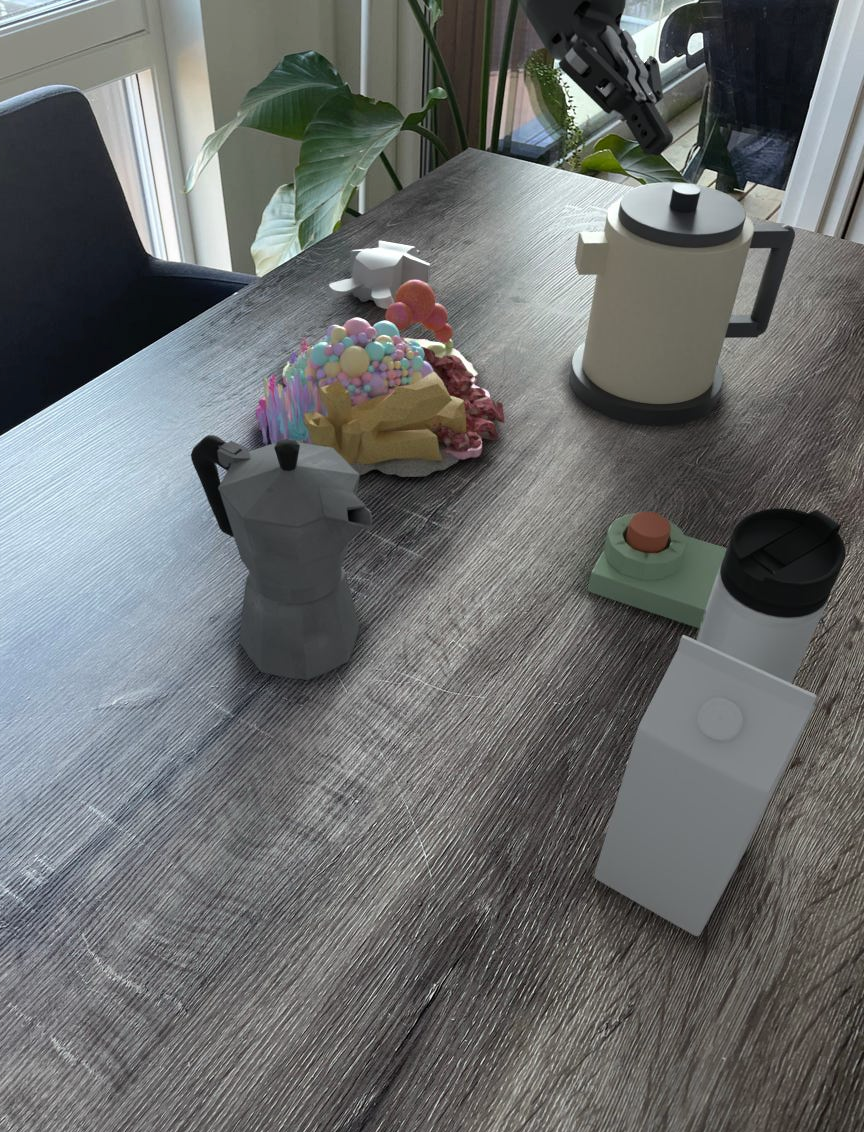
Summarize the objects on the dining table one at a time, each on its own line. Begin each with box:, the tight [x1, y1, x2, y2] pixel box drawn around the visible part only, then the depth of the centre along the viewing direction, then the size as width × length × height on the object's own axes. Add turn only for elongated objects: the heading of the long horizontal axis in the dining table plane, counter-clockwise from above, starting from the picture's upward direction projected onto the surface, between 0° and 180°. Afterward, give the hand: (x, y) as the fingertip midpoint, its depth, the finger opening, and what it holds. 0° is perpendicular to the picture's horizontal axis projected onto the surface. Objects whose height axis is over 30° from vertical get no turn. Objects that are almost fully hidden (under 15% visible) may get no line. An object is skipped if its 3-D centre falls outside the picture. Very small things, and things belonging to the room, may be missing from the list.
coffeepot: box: [190, 434, 373, 681], centre depth 73 cm, size 15×9×18 cm, turn 54°
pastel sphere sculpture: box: [255, 280, 505, 478], centre depth 98 cm, size 25×24×9 cm
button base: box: [587, 513, 727, 629], centre depth 82 cm, size 14×8×4 cm, turn 63°
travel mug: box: [695, 507, 847, 684], centre depth 65 cm, size 6×7×20 cm
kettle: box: [569, 181, 796, 427], centre depth 98 cm, size 16×20×20 cm
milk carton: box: [593, 634, 818, 937], centre depth 59 cm, size 7×7×19 cm
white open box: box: [324, 240, 431, 310], centre depth 115 cm, size 10×5×15 cm
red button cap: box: [626, 511, 671, 553], centre depth 82 cm, size 3×3×2 cm
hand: (661, 148), depth 87 cm, fingers closed
